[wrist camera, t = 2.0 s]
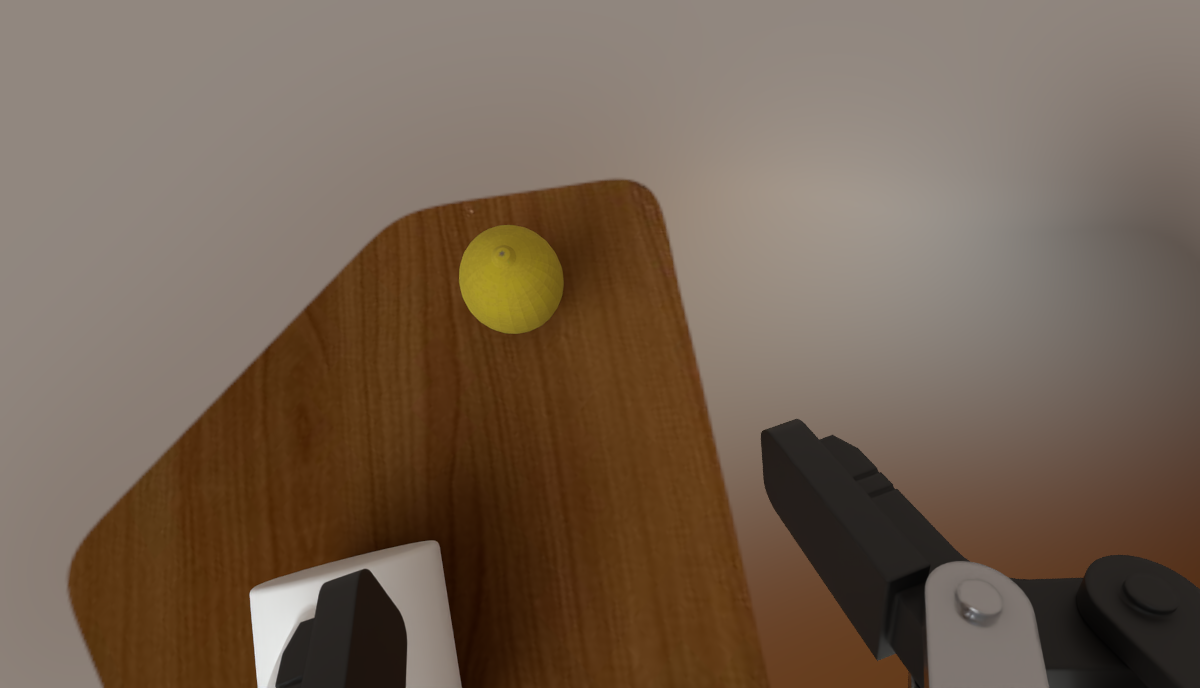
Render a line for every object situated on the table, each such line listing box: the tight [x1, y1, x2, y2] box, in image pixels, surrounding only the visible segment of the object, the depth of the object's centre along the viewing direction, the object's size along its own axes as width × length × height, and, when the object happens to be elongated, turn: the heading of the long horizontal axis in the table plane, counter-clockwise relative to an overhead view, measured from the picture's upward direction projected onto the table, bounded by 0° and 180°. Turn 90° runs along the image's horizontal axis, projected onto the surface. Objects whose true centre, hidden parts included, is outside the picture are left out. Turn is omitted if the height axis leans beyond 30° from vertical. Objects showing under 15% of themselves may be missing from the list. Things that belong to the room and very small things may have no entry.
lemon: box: [459, 225, 564, 334], centre depth 31 cm, size 6×6×8 cm
